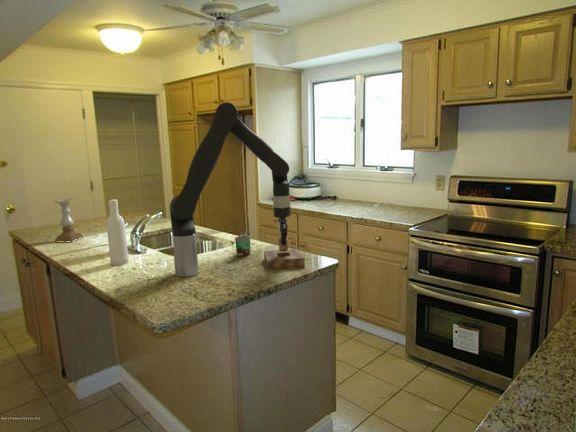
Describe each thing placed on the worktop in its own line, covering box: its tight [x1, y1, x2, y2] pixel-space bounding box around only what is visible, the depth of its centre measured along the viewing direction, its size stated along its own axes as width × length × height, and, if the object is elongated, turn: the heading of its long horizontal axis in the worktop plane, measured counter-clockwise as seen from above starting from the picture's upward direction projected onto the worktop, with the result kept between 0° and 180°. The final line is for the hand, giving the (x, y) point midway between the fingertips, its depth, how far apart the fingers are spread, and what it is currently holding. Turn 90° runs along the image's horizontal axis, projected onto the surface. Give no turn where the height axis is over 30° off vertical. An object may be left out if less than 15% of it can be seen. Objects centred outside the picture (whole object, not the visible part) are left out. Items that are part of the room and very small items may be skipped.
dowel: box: [277, 224, 289, 252], centre depth 184 cm, size 4×4×12 cm
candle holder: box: [53, 198, 84, 242], centre depth 242 cm, size 11×11×24 cm
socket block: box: [263, 248, 305, 271], centre depth 186 cm, size 16×16×4 cm
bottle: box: [105, 198, 129, 266], centre depth 191 cm, size 8×8×30 cm
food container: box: [234, 231, 253, 258], centre depth 202 cm, size 12×6×10 cm, turn 168°
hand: (283, 243), depth 185 cm, fingers closed on dowel, 4 cm apart
